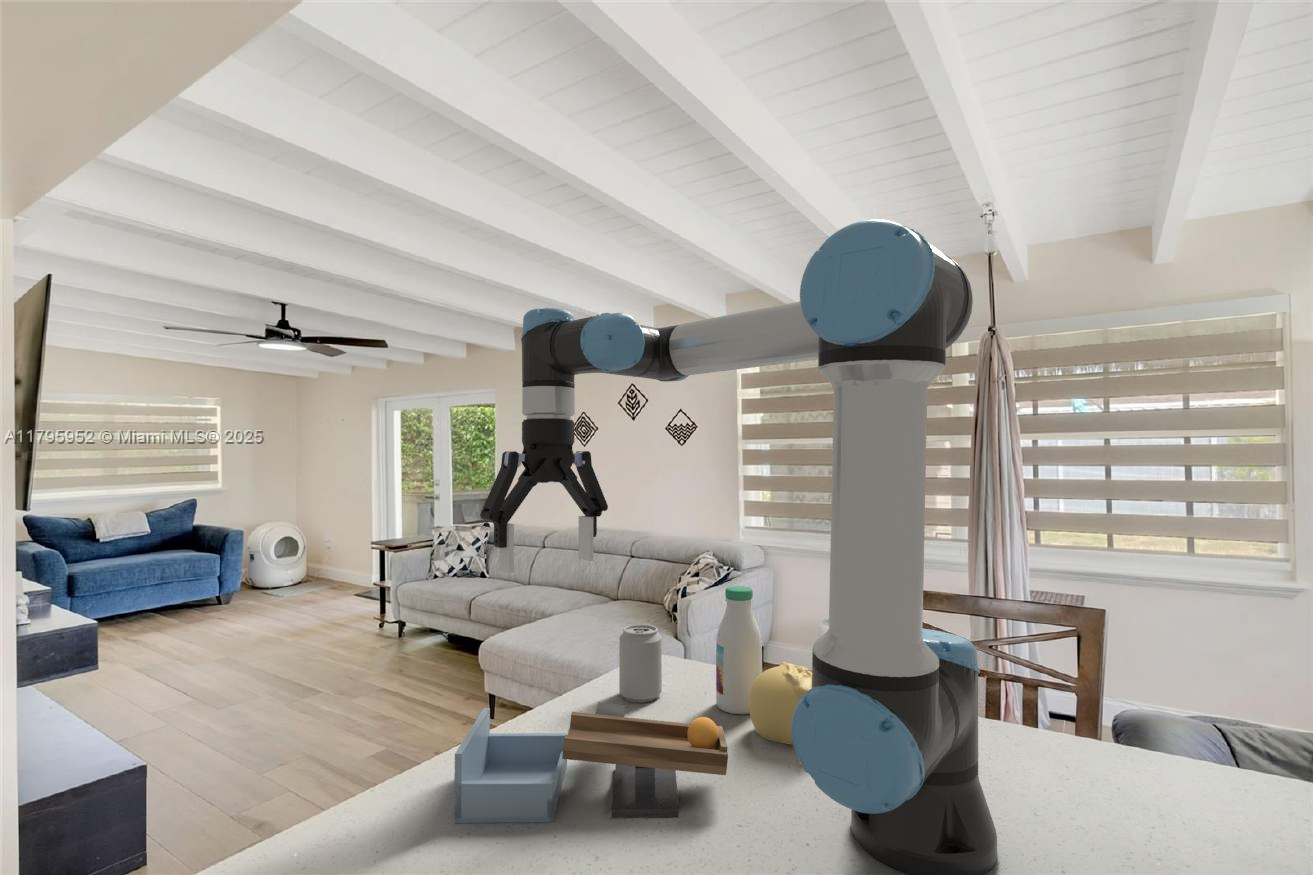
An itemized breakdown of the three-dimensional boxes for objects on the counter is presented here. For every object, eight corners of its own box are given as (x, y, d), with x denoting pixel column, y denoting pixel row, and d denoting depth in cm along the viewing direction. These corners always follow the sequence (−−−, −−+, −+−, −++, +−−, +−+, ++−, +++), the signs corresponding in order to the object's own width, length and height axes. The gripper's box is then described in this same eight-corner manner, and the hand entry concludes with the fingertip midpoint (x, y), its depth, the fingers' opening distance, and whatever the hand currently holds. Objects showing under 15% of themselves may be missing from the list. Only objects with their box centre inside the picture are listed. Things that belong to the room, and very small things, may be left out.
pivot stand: (616, 768, 90) (616, 736, 90) (674, 768, 90) (674, 736, 90) (611, 818, 78) (611, 780, 78) (678, 817, 78) (678, 780, 78)
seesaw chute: (576, 706, 96) (578, 686, 96) (713, 720, 96) (715, 700, 96) (562, 758, 80) (564, 734, 80) (726, 775, 80) (728, 750, 80)
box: (483, 766, 90) (484, 707, 91) (566, 766, 91) (567, 707, 91) (454, 823, 77) (454, 753, 77) (552, 822, 77) (552, 753, 77)
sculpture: (838, 754, 94) (837, 678, 94) (753, 753, 94) (753, 677, 95) (819, 721, 106) (819, 653, 106) (744, 720, 106) (744, 653, 106)
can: (663, 689, 120) (663, 622, 120) (659, 705, 112) (659, 634, 112) (622, 687, 120) (622, 621, 121) (616, 703, 113) (616, 633, 113)
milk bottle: (769, 703, 113) (769, 586, 113) (750, 719, 106) (750, 595, 106) (728, 694, 117) (728, 581, 117) (708, 709, 110) (708, 589, 111)
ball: (722, 751, 84) (726, 720, 84) (704, 760, 81) (709, 728, 81) (697, 739, 87) (701, 709, 87) (679, 747, 84) (683, 716, 84)
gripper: (600, 421, 107) (600, 552, 106) (455, 416, 90) (454, 572, 89) (630, 419, 101) (630, 558, 101) (482, 414, 84) (482, 580, 84)
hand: (548, 565), depth 95 cm, fingers open, 13 cm apart
